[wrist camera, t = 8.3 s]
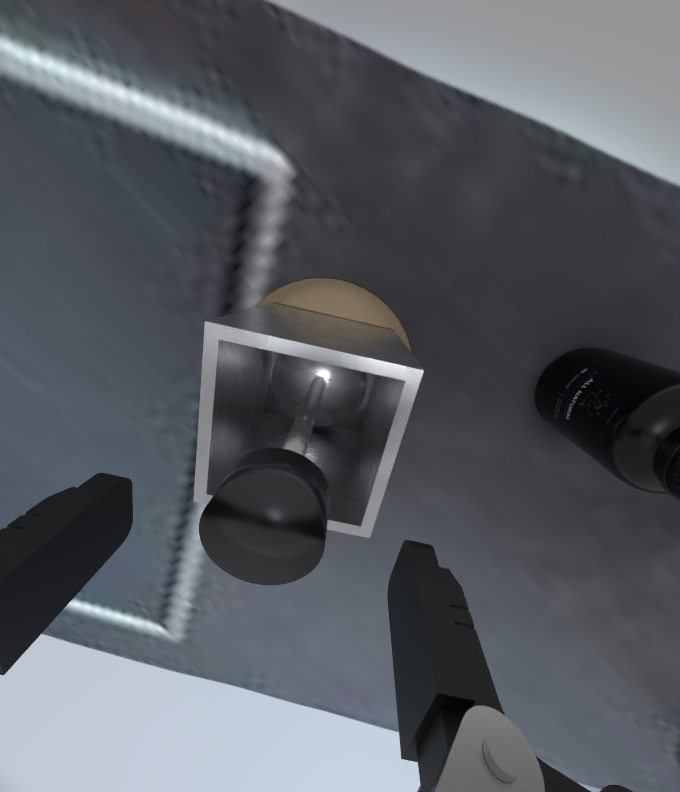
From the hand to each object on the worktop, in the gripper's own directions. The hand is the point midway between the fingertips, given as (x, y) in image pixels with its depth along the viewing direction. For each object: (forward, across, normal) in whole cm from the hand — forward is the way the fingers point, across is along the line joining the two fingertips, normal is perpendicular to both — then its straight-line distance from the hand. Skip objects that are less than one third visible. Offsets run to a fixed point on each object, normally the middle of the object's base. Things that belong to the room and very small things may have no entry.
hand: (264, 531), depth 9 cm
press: (+17, 0, 0) cm, 17 cm away
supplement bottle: (+18, -20, -3) cm, 27 cm away
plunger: (+15, 0, 0) cm, 15 cm away
